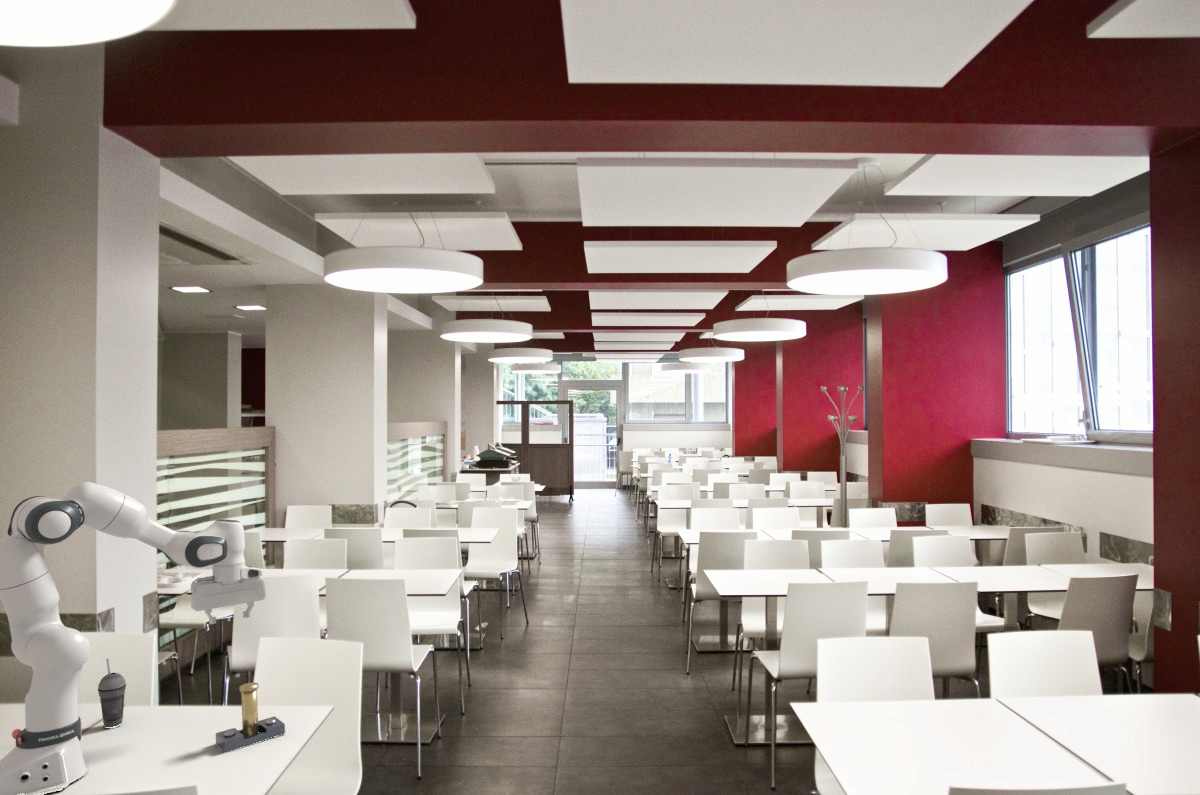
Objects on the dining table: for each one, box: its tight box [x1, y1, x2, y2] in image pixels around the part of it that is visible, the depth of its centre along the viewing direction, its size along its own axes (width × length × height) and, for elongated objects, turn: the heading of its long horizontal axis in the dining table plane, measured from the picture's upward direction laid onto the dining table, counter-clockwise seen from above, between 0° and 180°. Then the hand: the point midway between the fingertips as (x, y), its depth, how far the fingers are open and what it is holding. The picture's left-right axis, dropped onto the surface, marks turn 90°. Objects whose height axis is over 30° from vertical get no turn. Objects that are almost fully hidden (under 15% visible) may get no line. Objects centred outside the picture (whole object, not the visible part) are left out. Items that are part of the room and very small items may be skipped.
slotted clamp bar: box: [215, 716, 286, 753], centre depth 217 cm, size 16×8×4 cm, turn 132°
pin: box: [239, 682, 259, 738], centre depth 217 cm, size 5×5×15 cm
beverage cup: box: [97, 658, 127, 727], centre depth 231 cm, size 7×7×20 cm
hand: (229, 620), depth 229 cm, fingers open, 8 cm apart
